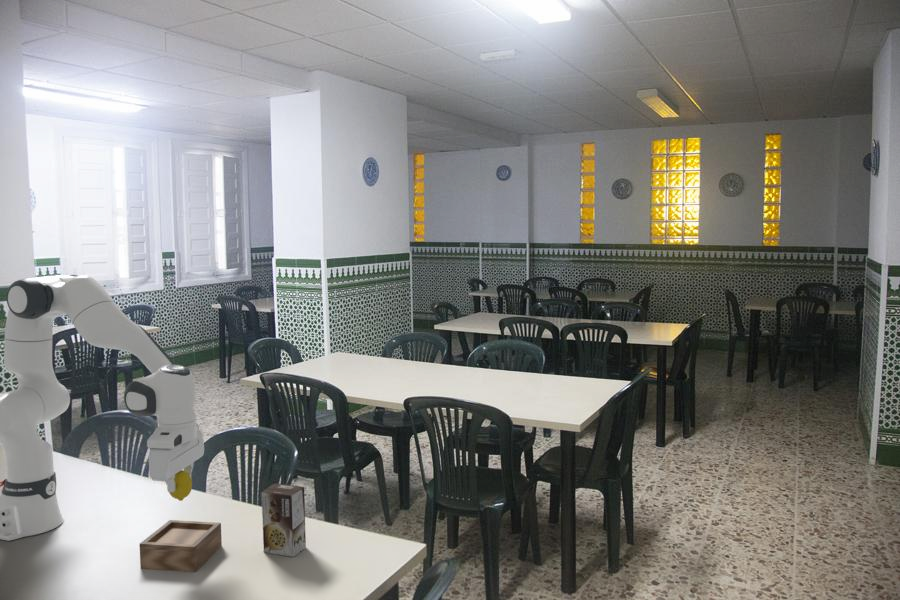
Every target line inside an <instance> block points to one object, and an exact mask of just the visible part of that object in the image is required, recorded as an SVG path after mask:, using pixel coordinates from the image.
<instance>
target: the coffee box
mask: <svg viewBox="0 0 900 600" xmlns="http://www.w3.org/2000/svg"><path fill="white" fill-rule="evenodd" d="M260 494H261V511H262V512H261V515H262V538H263V539H262V540H263V542H262V543H263V553H267V554H271V555H272V554H274V555H278V554H279V556H284V557H291V558H294V557H295V556H297V555H298V554H300V553H301V552H302V551H303V550H304V549H306V548H305V547H307V545H306V544H307V543H306V541H307V540H306V539H307V538H306V510H305V509H306V506H305V502H306V501H305V500H306V499H305V486H300V485H293V484H292V485H291V484H285V483H284V484H283V483H273V484H271V485H270V486H268V487H267V488H266V489H264V490H263V491H261V493H260ZM300 551H301V552H300Z"/></svg>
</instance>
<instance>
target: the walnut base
mask: <svg viewBox="0 0 900 600" xmlns="http://www.w3.org/2000/svg"><path fill="white" fill-rule="evenodd" d="M222 543H223V542H222V522H212V521H210V522H209V521H198V520H197V521H196V520H195V521H194V520H180V519H179V520H176V519H174V520H173V519H169V520H168V521H167V522H165V523H164V524H163V525H161V526H160V527H159V528H158V529H156V530H155V531H153V532H152V533H151V534H150V535H149V536H148V537H146V538H145V539H143V540H142V541H141V542H140V543H139V563H140V564H139V565H140V569H142V568H145V569H144V570H160V571H173V572H192V573H196V572H197V571H198V570H199V569H200V568H201V567H202V566H203V565H204V564H205V563H206V562H207V561H208V560H209V559H210V558H211V557H212V556H213V555H214V554H215V553H216V552H217V551H218V550H219V549H220V548H221V547H222V545H223V544H222Z"/></svg>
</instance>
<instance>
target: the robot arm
mask: <svg viewBox="0 0 900 600" xmlns="http://www.w3.org/2000/svg"><path fill="white" fill-rule="evenodd" d="M6 303H7V307H8V312H7V315H6V319H5V320H6V321H5V329H4V350H3V351H4V352H3V366H4V368H5V369H6V370H7V371H8V372H10V373H11V374H13V375H15V378H16V380H17V384H18V385H17V389H13V390H10V391H5V392H2V393H0V445H1V448H2V451H3V455H4V459H5V461H4V462H5V469H6V470H5V471H6V478H4V480H2V481H0V488H1V487H2V489H1V492H0V540H3V541H9V542H10V541H14V540H17V539H21V538H25V537H30V536H35V535H40V534H42V533H47V532H49V531H51V530H54V529H55V528H58V527H60V526H61V525H62V524H63V523H64V518H63V516H62V513H61V509H60V506H59V501H58V498H57V497H58V496H57V492H56V491H57V476H56V474H57V473H56V472H55V471H54V469H55V468H54V452H53V446H52V444H51V443H49V442H48V441H46V440H43V439H42V438H41V437H40V435H39V432H38V426H39V425H41V424H44V423H46V422H50V421H52V420H54V419H55V418H58V417H59V416H60V415H61V414H63V413H65V412H66V411H67V410H68V408H69V406H70V404H71V395H70V392H69V390H68V389H67V387H66V386H65V385H63V384H62V383H61V382H60V381H59V380H58V379H57V376H56V374H55V370H54V366H53V338H54V337H53V331H54V330H53V328H54V327H53V323H54V321H55V319H57V318H58V317H63V316H64V317H68V318H69V320H70V322H71V323H72V325H73V327H74V328H75V330H76V331H77V333H78V334H79V336H80V337H81V338H82V339H83V340H84V341H85V342H87V343H88V344H89V345H91V346H93V347H97V348H100V349H101V348H103V349H110V350H118V351H122V352H126V353H130V354H131V355H134V357H137V359H138V360H139V361H140V362H141V363H142V364H143V365H144V366H145V367H146V369H147V370H148V371H149V372H150V373H151V374H149V375H146V376H144V377H141V378H136V379H135V380H132V381H130V382H129V383H128V384H127V386H126V388H125V389H124V392H123V403H124V405H125V408H126V409H127V411H128V412H129V413H130V414H131V415H133V416H135V417H137V418H145V417H146V418H147V417H150V416H156V417H157V427H155V429H154V431H153V433H152V434H151V435H150V436H149V437H148V438H147V441H146V447H147V449H150V450H149V453H148V470H149V472H148V473H149V477H150V478H151V480H152V481H155V482H165V484H166V487H167V492H168V493H169V492H174V491H176V490H177V483H175V481H174V478H175V474H176V473H178V472H179V471H181V470H183V471H186V472H187V473H188V474H189V475H190V477H191V478H192V473H193V469H194V465H195V462H196V461H198V460H199V459H200V458H202V457H203V456H204V453H205V444H204V443H205V442H204V441H205V440H204V437H203V436H204V435H203V432H202V430H201V429H200V425H199V424H198V423H197V415H196V412H195V405H196V388H195V387H196V386H195V380H194V377H193V373H192V370H191V369H190V368H188V367H186V366H184V365H181V364H177V363H176V362H174V360H173V359H172V358H171V357H170V356H169V354H168V353H167V352H166V351H165V350H164V349H163V348H162V347H161V346H160V345H159V343H158V342H157V341H156V340H155V339H154V337H152V335H151V334H150V333H149V332H148V331H147V330H145V328H144V327H142V326H141V325H139V324H137V323H136V322H134V321H133V320H132V319H130V317H128V316H127V315H126V314H125V313H124V312H123V311H122V309H120V308H119V306H118V305H117V303H116V302H115V300H114V299H113V298H112V296H111V295H110V293H109V292H108V291H106V289H105V288H104V287H103V286H102V285H101V284H100V283H99V282H98V281H97V279H95V278H94V277H92V276H89V275H78V274H71V275H69V274H68V275H67V274H66V275H65V274H49V275H44V276H37V277H25V278H21V279H18V280H16V281H15V280H14V281H13V282H12V283H11V284H10V286H9V287H8V289H7V293H6Z"/></svg>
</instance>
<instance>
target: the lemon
mask: <svg viewBox="0 0 900 600" xmlns="http://www.w3.org/2000/svg"><path fill="white" fill-rule="evenodd" d="M174 481H175V483H177V490H176V491H174V492H168V493H169V495H170V496H171V497H172V498H174V499H177V500H178V501H181V502H182V501H183V500H184V499H185V498H187V497H188V496H189V495H190V494H191V492H192V488H193V480H192V476H191V477H190V475H189V474H188V473H187V472H186V471H184V469H182V470H181V471H179V472H178V473H176V474H175V478H174Z"/></svg>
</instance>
